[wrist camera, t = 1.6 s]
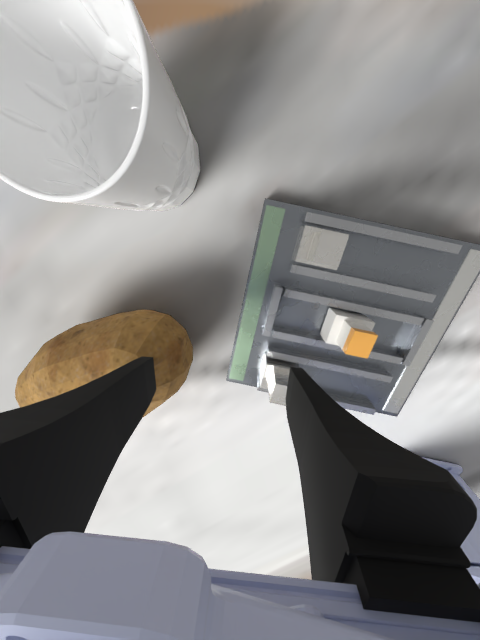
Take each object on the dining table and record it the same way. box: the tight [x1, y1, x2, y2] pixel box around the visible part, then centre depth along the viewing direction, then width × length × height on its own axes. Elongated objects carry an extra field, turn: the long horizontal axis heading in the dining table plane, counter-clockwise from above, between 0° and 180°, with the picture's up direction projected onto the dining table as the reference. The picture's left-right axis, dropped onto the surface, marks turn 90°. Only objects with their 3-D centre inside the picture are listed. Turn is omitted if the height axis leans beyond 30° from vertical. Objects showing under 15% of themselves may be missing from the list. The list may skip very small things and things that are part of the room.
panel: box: [226, 199, 480, 416], centre depth 18 cm, size 17×16×5 cm
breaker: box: [320, 308, 378, 359], centre depth 17 cm, size 3×2×4 cm
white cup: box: [0, 0, 200, 212], centre depth 12 cm, size 8×8×10 cm
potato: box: [15, 310, 193, 417], centre depth 18 cm, size 9×16×9 cm, turn 116°
